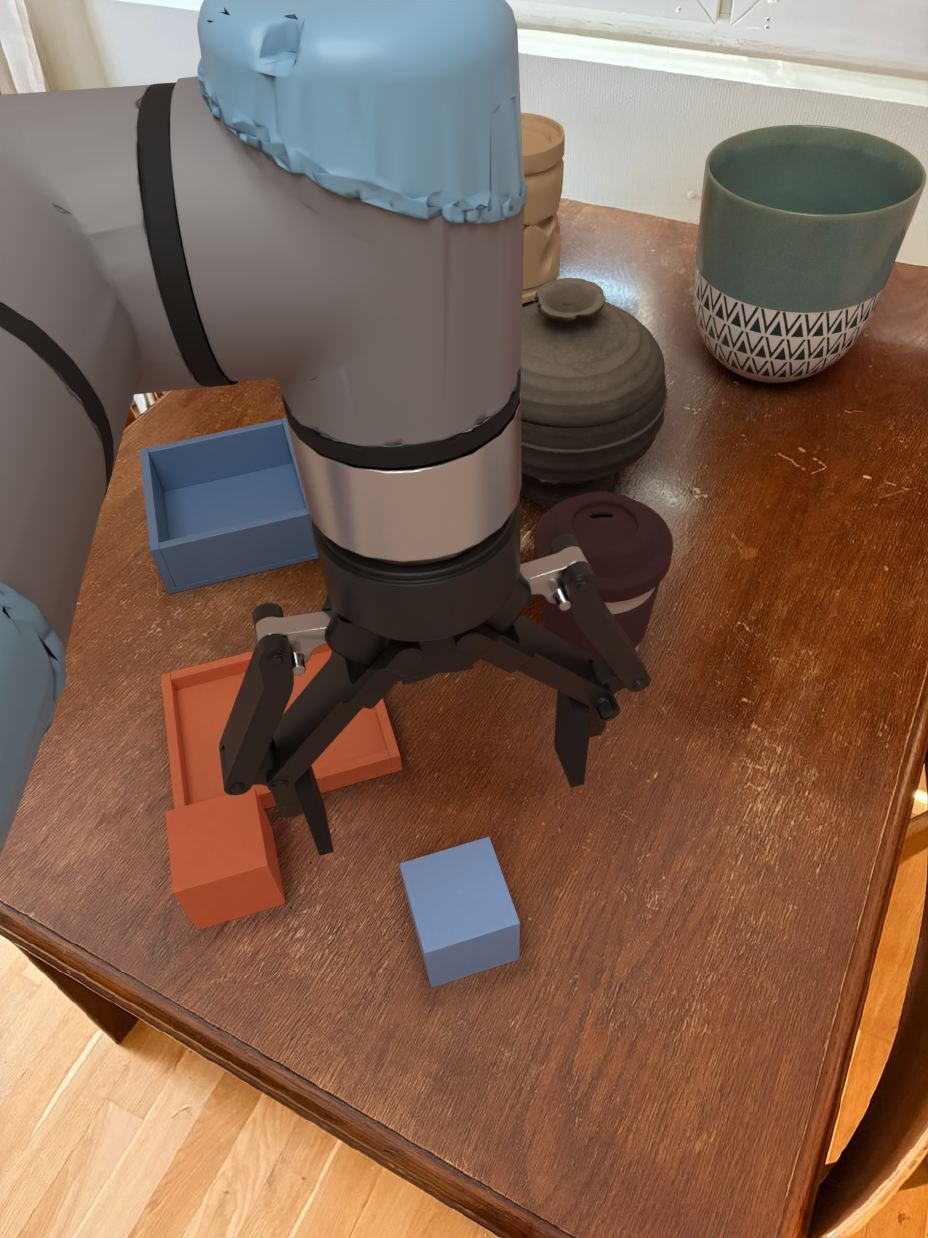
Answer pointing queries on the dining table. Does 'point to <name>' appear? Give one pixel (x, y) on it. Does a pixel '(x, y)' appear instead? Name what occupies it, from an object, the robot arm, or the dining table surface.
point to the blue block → (461, 911)
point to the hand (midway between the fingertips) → (448, 798)
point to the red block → (223, 859)
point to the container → (541, 200)
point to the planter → (798, 244)
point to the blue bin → (225, 506)
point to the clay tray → (211, 690)
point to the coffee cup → (610, 559)
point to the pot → (584, 392)
